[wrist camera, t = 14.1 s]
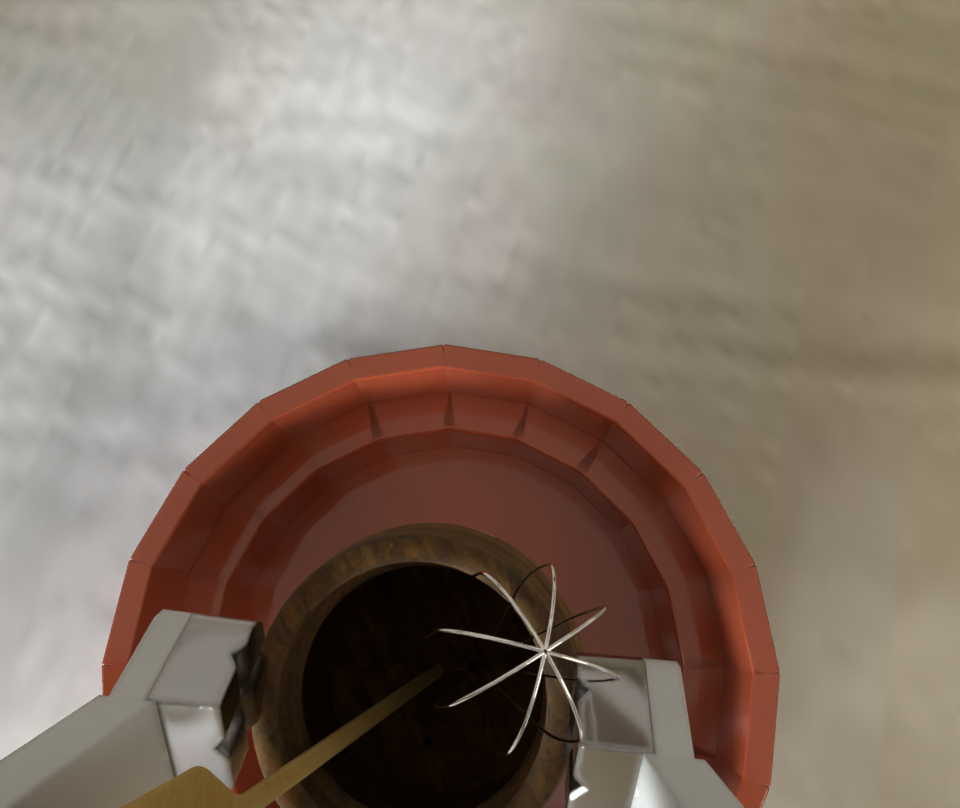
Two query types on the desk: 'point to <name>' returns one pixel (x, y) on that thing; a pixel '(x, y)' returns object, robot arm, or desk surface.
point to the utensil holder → (411, 682)
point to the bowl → (476, 523)
